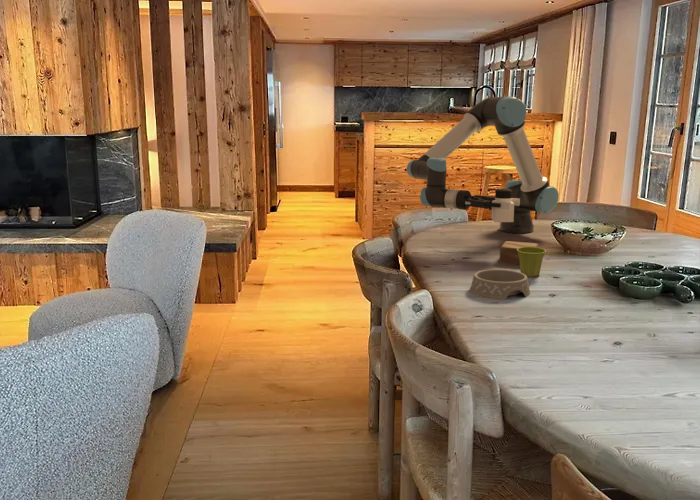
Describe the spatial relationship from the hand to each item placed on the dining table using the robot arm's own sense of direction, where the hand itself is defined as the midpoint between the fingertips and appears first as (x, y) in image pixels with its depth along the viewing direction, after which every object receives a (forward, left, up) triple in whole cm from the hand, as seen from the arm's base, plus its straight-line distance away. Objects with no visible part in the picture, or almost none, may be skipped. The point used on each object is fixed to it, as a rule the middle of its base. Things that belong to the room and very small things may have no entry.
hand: (514, 204), depth 230 cm
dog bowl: (+33, +31, -21) cm, 50 cm away
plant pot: (+12, +22, -20) cm, 32 cm away
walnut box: (+2, +6, -21) cm, 21 cm away
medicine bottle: (+2, -4, -7) cm, 8 cm away
